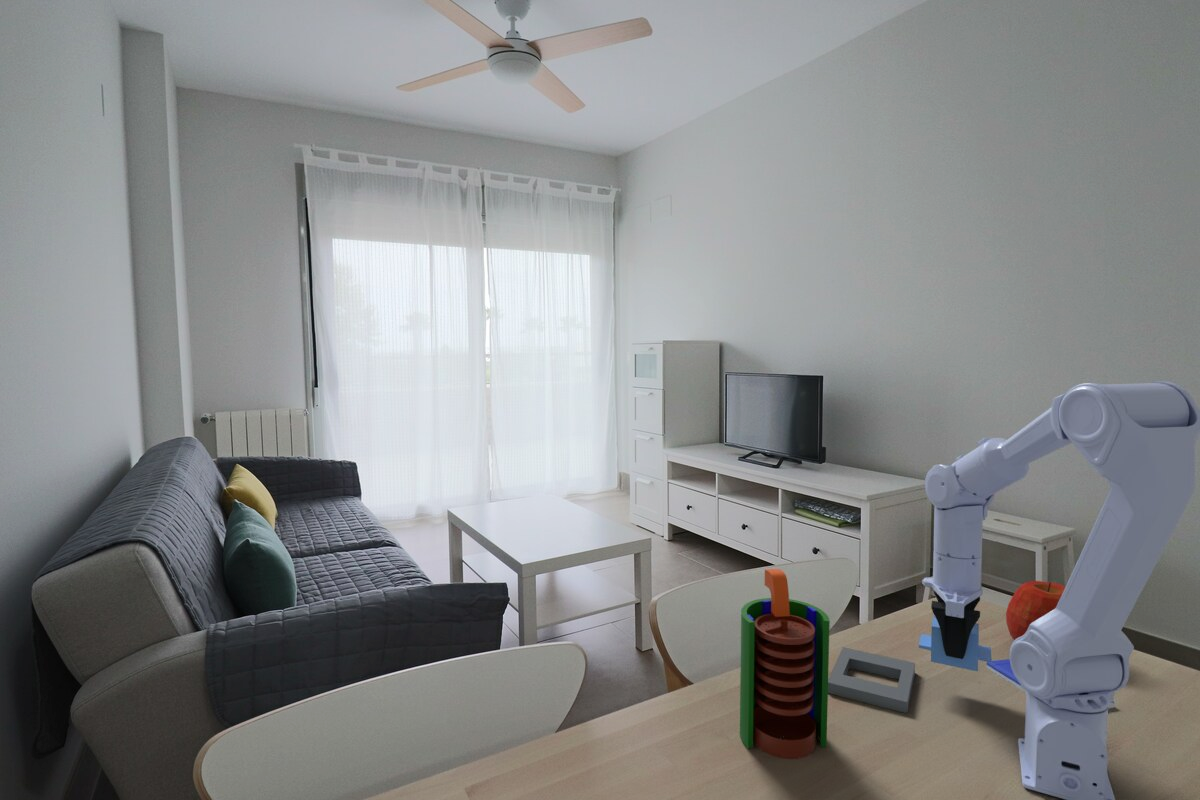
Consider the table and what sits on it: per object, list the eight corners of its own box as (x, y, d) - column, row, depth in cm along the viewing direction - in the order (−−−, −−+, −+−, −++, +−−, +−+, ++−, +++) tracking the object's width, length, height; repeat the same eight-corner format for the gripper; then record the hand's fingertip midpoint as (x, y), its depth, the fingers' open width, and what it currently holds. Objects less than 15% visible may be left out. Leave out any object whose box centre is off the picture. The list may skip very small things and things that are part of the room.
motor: (761, 766, 71) (762, 595, 70) (725, 722, 80) (725, 569, 78) (838, 750, 74) (840, 585, 72) (795, 709, 82) (796, 561, 81)
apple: (1040, 666, 93) (1043, 596, 92) (988, 634, 104) (990, 571, 103) (1106, 661, 94) (1110, 593, 93) (1048, 630, 105) (1051, 568, 104)
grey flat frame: (906, 713, 81) (907, 702, 81) (826, 692, 86) (826, 682, 86) (914, 672, 91) (915, 662, 91) (842, 656, 96) (842, 647, 96)
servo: (991, 674, 82) (992, 631, 81) (918, 658, 86) (919, 618, 86) (990, 661, 85) (991, 620, 85) (921, 647, 90) (921, 608, 89)
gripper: (927, 535, 93) (925, 624, 94) (920, 563, 81) (918, 664, 81) (983, 542, 89) (980, 634, 90) (984, 572, 77) (981, 678, 78)
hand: (954, 649), depth 86 cm, fingers closed on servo, 4 cm apart
